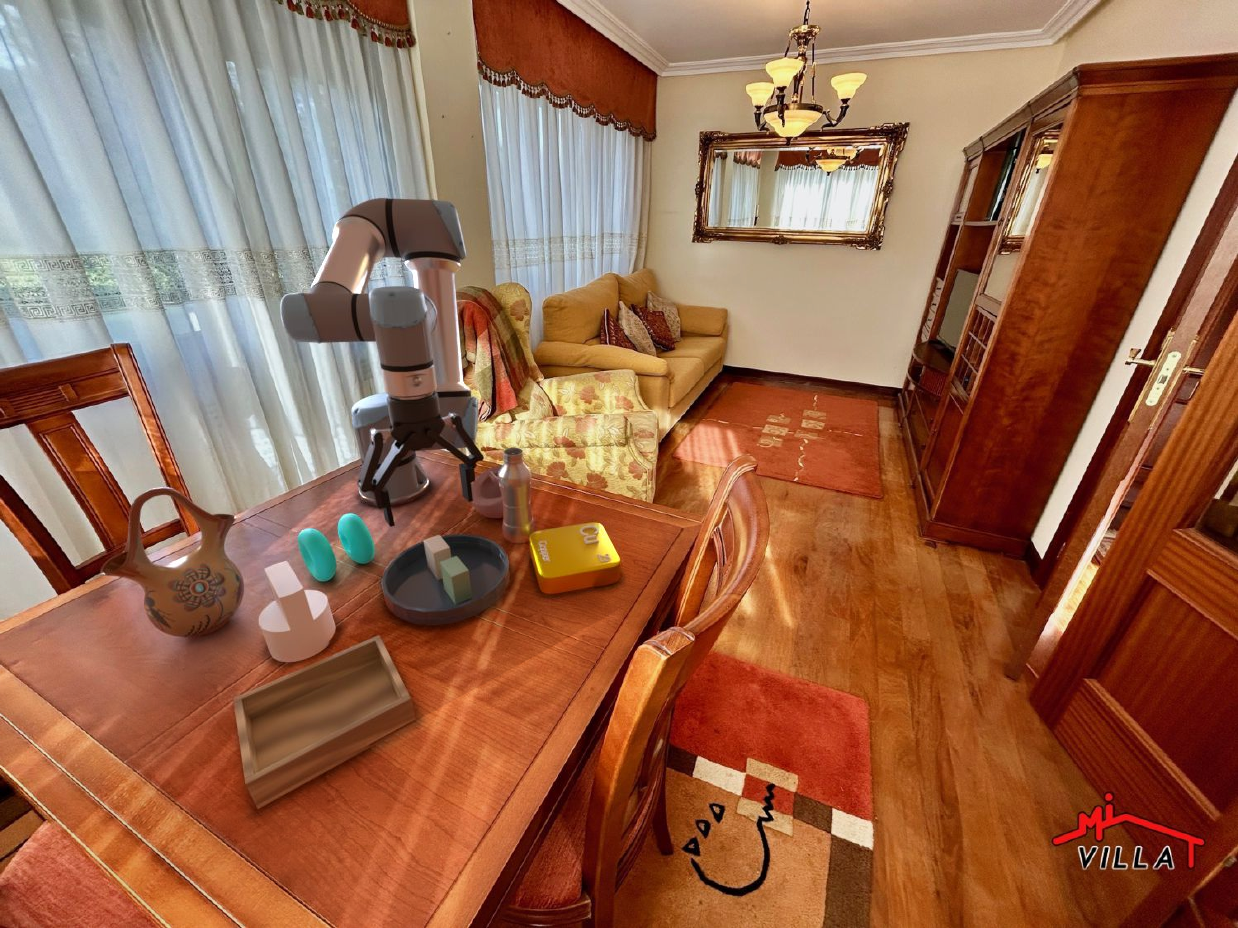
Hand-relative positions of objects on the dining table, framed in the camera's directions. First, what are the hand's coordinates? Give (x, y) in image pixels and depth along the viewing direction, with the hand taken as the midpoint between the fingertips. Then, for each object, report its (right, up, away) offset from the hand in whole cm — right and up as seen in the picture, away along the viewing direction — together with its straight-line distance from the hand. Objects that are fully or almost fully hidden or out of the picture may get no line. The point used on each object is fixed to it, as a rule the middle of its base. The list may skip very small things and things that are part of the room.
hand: (430, 510), depth 87 cm
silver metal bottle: (+12, -8, +17) cm, 22 cm away
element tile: (+24, -12, +10) cm, 28 cm away
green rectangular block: (+5, -15, +1) cm, 15 cm away
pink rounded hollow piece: (+6, -3, +25) cm, 26 cm away
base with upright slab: (-17, -20, -9) cm, 27 cm away
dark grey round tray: (+2, -14, +4) cm, 14 cm away
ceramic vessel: (-33, -18, -7) cm, 38 cm away
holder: (-5, -26, -21) cm, 34 cm away
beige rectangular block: (-1, -12, +6) cm, 13 cm away
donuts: (-19, -12, +7) cm, 23 cm away
